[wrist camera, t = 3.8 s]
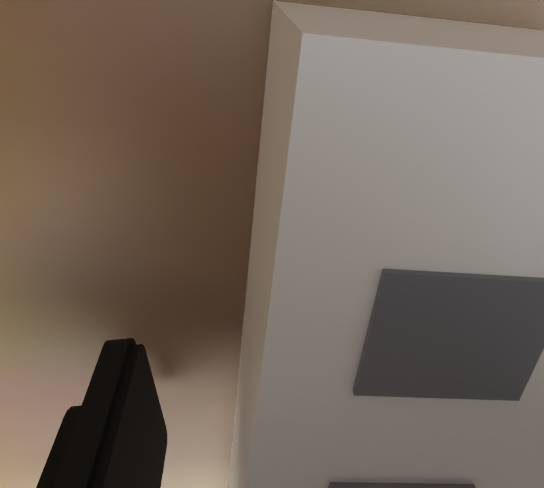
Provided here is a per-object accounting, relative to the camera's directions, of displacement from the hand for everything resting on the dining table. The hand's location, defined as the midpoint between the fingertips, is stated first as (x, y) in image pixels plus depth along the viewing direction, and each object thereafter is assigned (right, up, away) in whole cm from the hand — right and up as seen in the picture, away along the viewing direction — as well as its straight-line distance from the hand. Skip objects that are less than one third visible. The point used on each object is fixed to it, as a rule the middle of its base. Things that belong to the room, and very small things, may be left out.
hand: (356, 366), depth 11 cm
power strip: (0, +1, +2) cm, 2 cm away
